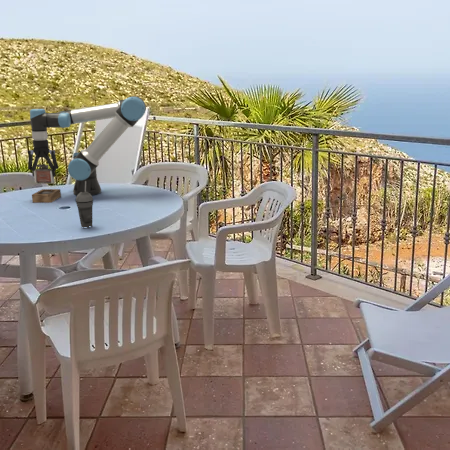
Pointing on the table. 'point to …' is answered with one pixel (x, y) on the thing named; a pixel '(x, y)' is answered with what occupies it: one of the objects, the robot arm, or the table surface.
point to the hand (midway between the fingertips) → (44, 182)
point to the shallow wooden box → (46, 196)
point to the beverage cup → (85, 207)
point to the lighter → (43, 174)
